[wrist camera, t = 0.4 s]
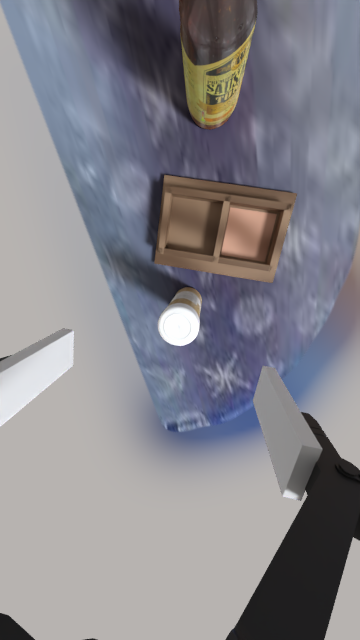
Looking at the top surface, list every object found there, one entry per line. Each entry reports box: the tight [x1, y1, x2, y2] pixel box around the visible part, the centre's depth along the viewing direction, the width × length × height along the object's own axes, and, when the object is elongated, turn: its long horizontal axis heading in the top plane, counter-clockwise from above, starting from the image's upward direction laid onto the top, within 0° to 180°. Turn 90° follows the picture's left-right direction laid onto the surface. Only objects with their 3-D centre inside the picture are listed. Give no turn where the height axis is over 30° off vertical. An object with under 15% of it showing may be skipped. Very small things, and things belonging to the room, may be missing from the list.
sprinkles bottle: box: [158, 287, 202, 346], centre depth 31 cm, size 5×5×14 cm
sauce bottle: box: [179, 0, 257, 130], centre depth 20 cm, size 6×6×20 cm
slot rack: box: [155, 175, 297, 283], centre depth 33 cm, size 12×18×3 cm, turn 81°
